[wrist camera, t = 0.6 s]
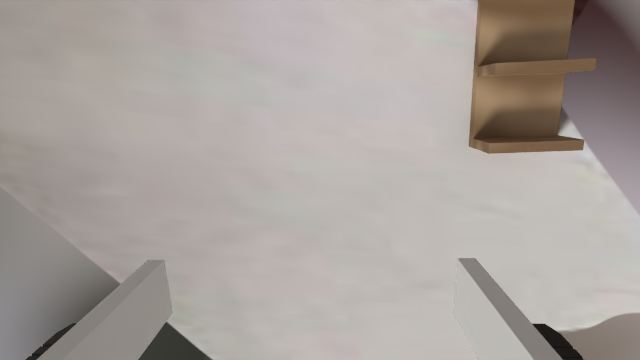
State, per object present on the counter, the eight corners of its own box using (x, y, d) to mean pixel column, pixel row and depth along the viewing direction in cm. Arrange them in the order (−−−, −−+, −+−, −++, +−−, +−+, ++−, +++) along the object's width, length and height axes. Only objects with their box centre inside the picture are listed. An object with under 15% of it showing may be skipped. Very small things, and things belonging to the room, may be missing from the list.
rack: (478, -10, 34) (503, -27, 29) (570, -15, 33) (609, -34, 29) (468, 146, 38) (488, 153, 33) (550, 143, 37) (582, 150, 32)
